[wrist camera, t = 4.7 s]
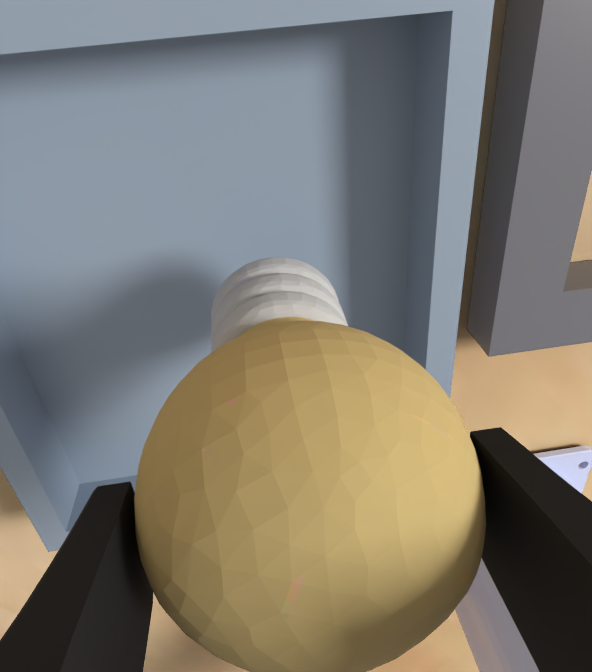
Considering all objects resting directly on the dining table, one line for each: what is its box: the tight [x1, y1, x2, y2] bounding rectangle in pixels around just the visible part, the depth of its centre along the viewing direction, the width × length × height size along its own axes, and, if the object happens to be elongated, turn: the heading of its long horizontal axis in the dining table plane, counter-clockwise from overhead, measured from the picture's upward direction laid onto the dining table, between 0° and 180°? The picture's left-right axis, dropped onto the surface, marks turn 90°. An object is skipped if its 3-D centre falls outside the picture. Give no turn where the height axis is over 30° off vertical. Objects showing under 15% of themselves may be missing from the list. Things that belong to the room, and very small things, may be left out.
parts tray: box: [0, 0, 495, 552], centre depth 17 cm, size 18×16×3 cm
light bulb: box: [134, 257, 486, 672], centre depth 12 cm, size 6×6×10 cm
